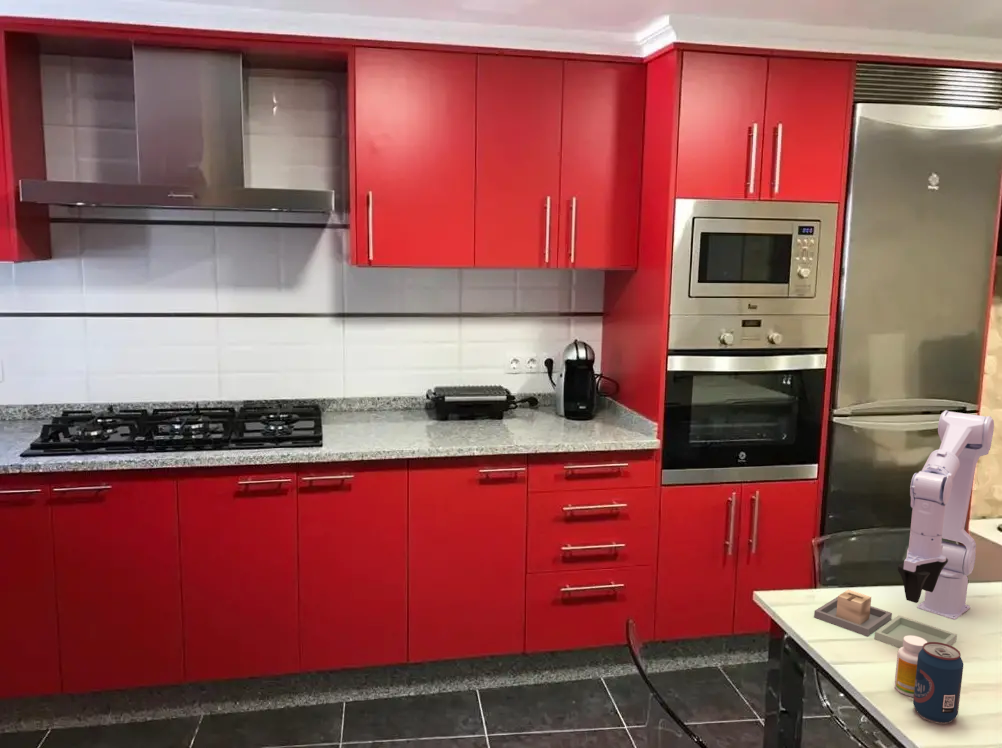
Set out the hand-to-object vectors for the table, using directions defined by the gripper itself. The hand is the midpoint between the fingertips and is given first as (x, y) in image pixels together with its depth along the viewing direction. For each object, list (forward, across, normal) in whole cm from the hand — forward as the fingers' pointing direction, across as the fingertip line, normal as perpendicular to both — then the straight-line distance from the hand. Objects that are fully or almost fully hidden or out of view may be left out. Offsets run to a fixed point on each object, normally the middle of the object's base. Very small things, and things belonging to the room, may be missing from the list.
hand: (919, 595), depth 170 cm
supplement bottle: (+10, -20, -7) cm, 23 cm away
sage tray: (+10, 0, 0) cm, 10 cm away
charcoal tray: (+10, 0, +13) cm, 16 cm away
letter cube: (+10, 0, +13) cm, 16 cm away
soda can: (+10, -25, -13) cm, 30 cm away
